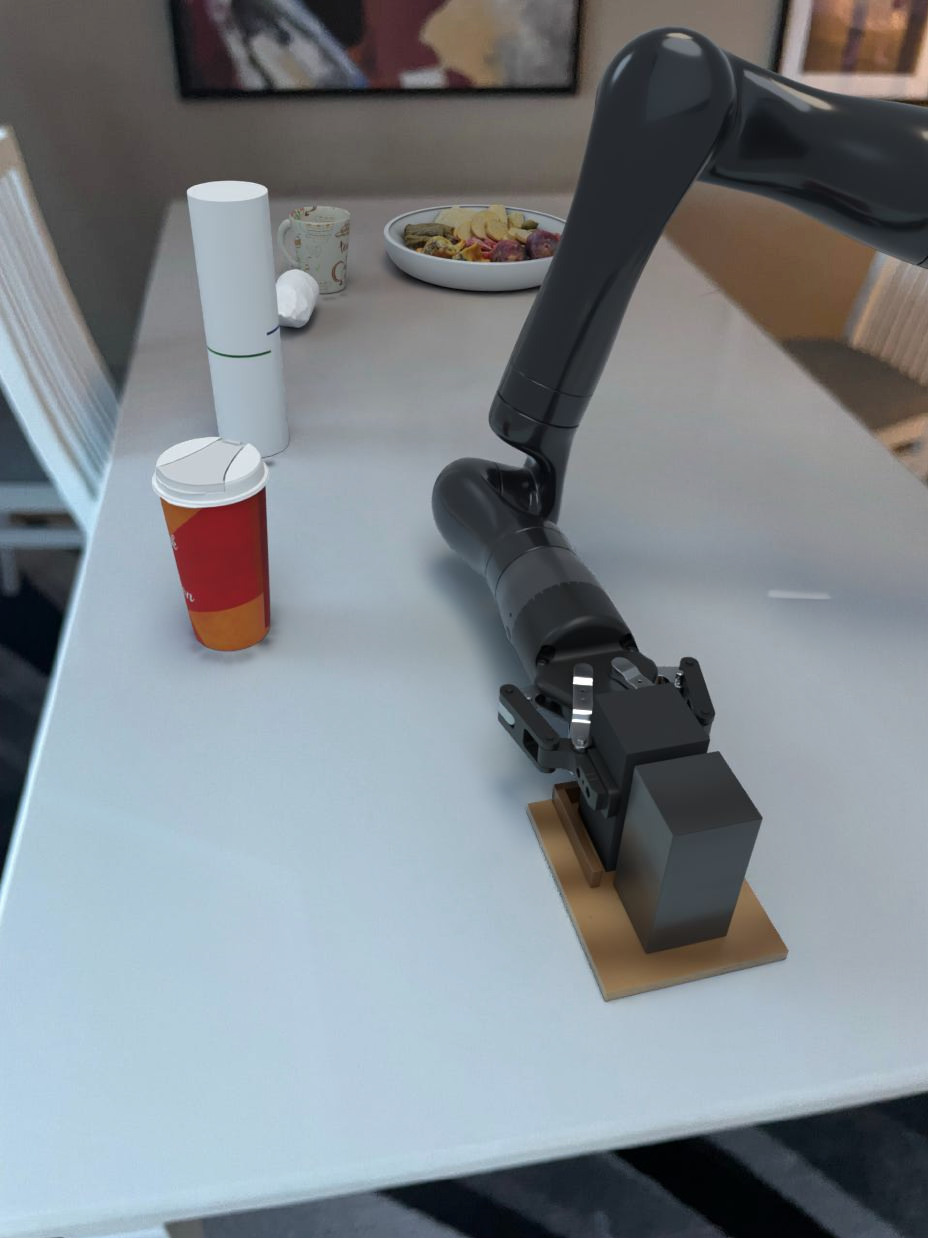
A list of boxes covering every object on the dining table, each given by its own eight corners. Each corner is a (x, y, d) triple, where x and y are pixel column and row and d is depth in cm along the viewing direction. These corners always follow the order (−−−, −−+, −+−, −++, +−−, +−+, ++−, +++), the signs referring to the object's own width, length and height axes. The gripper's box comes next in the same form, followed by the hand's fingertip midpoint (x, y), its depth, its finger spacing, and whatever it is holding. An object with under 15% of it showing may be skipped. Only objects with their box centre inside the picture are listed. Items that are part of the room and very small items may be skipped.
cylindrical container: (302, 435, 106) (283, 187, 91) (264, 464, 101) (237, 205, 86) (245, 421, 109) (218, 176, 93) (206, 448, 103) (170, 194, 88)
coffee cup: (216, 588, 84) (192, 424, 75) (303, 611, 81) (289, 446, 72) (157, 645, 77) (122, 474, 68) (249, 672, 75) (226, 499, 66)
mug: (329, 300, 139) (325, 226, 133) (259, 282, 144) (252, 210, 138) (364, 284, 145) (362, 212, 139) (296, 267, 150) (291, 197, 144)
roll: (260, 341, 126) (256, 297, 123) (277, 308, 136) (273, 266, 133) (307, 343, 126) (304, 299, 123) (321, 309, 136) (318, 268, 133)
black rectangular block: (577, 811, 64) (593, 694, 58) (649, 798, 65) (673, 681, 59) (605, 872, 60) (626, 754, 54) (681, 857, 61) (710, 739, 55)
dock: (526, 811, 65) (538, 686, 58) (681, 783, 67) (709, 659, 61) (605, 1001, 54) (630, 874, 48) (786, 959, 57) (834, 832, 50)
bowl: (343, 261, 153) (341, 207, 148) (480, 224, 170) (481, 175, 165) (485, 314, 136) (487, 256, 131) (620, 268, 153) (626, 215, 149)
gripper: (464, 592, 66) (546, 774, 53) (663, 566, 69) (787, 731, 56) (461, 678, 71) (536, 865, 58) (648, 650, 74) (759, 821, 61)
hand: (659, 798), depth 57 cm, fingers closed on black rectangular block, 5 cm apart
